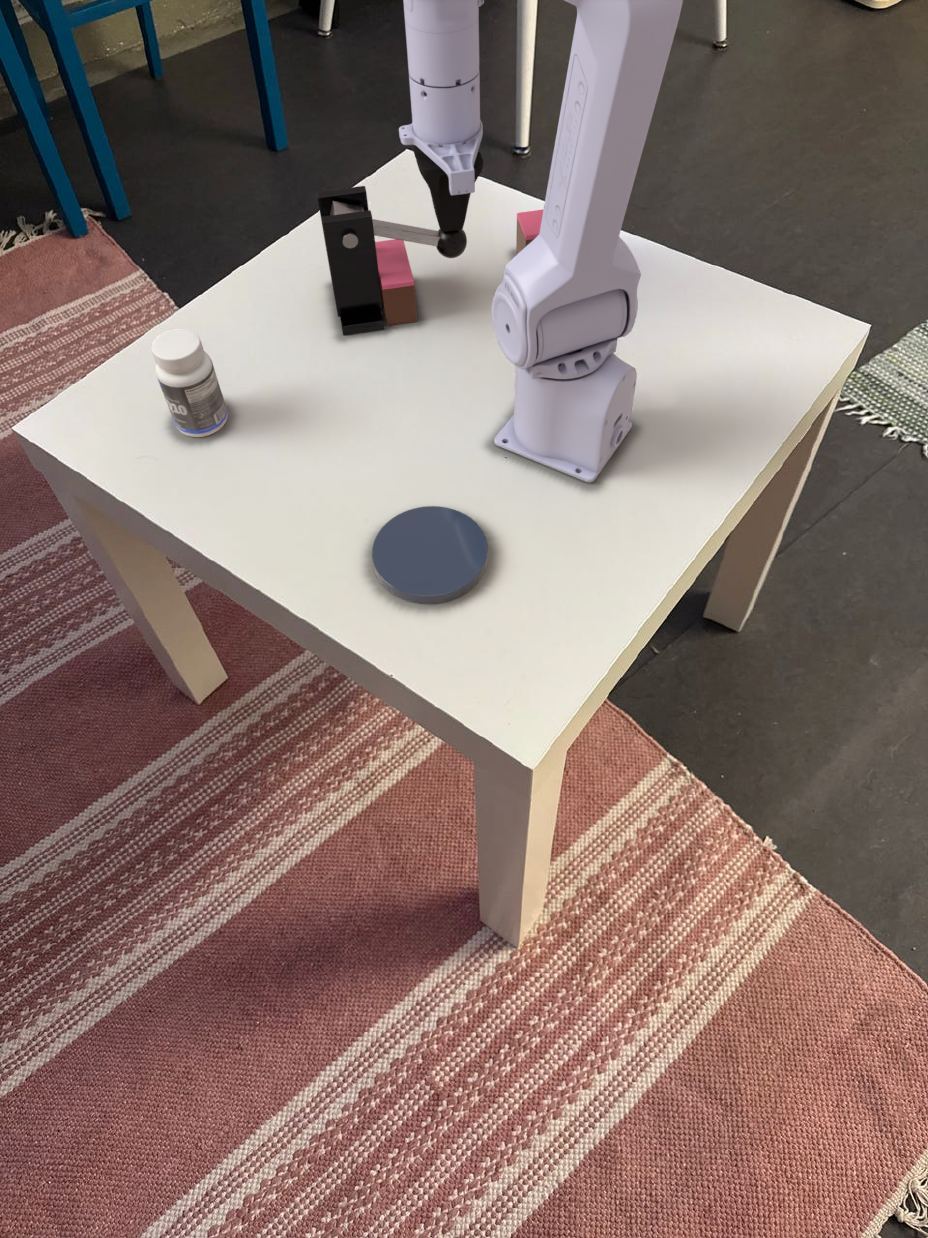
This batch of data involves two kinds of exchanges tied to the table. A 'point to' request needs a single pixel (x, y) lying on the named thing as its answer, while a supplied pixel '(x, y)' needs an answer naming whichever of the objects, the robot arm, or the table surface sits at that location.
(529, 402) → the robot arm
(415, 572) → the plate
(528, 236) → the cake slice
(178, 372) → the pill bottle
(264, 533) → the table surface
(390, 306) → the loaf cake
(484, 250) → the table surface
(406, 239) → the lever
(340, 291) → the bracket
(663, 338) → the table surface
